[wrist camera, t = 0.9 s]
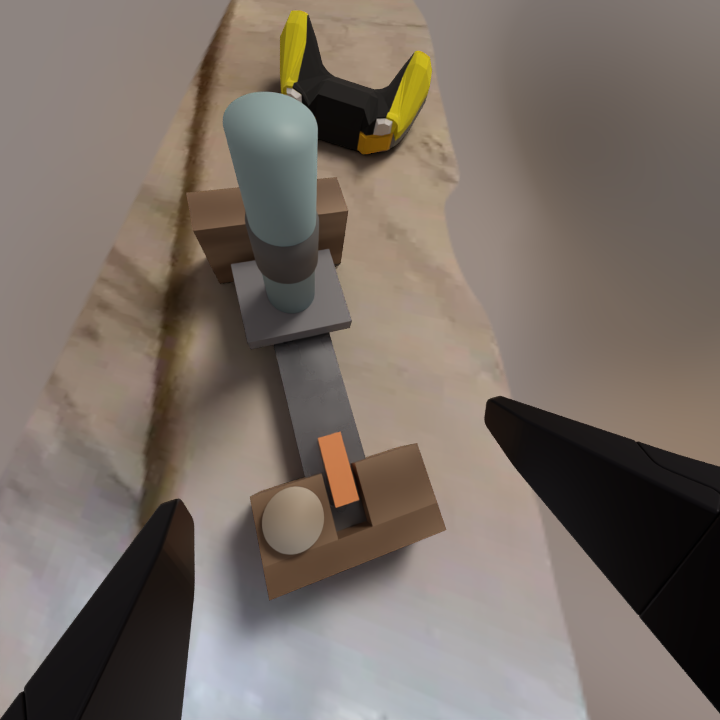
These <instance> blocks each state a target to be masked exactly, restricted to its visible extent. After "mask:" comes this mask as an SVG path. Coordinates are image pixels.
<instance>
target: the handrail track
mask: <svg viewBox="0 0 720 720" xmlns="http://www.w3.org/2000/svg"><path fill="white" fill-rule="evenodd" d="M274 348H275V353H276V357H277V361H278V365H279V370H280V374H281V378H282V382H283V386H284V391H285V395H286V399H287V403H288V408H289V412H290V416H291V420H292V425H293V429H294V433H295V437H296V441H297V446H298V450H299V454H300V458H301V463H302V467H303V471H304V475H305V478H306V477H310V476H313V475H316V474H319V473H321V474H322V477H323V481H324V485H325V489H326V493H327V497H328V501H329V505H330V509H331V513H332V517H333V521H334V525H335V529H336V532H337V531H340V530H343V529H345V528H348V527H351V526H353V525H356V524H359V523H362V522H364V521H367V519H366V515H365V512H364V508H363V505H362V501H361V497H360V494H359V490H358V487H357V483H356V479H355V476H354V472H353V469H352V465H351V463H353V462H356V461H360V460H363V459H366V458H365V455H364V451H363V448H362V444H361V441H360V437H359V434H358V431H357V427H356V424H355V420H354V417H353V413H352V410H351V407H350V403H349V400H348V396H347V393H346V389H345V386H344V382H343V379H342V376H341V372H340V369H339V365H338V362H337V358H336V355H335V352H334V348H333V345H332V341H331V338H330V334H329V332H328V333H324V334H319V335H315V336H310V337H305V338H301V339H296V340H292V341H287V342H283V343H278V344H274ZM337 432H341V435H342V439H343V443H344V446H345V450H346V453H347V457H348V461H349V464H350V468H351V472H352V475H353V479H354V482H355V486H356V490H357V493H358V497H359V500H357V501H354V502H351V503H349V504H346V505H343V506H340V507H337V508H336V507H335V506H334V502H333V499H332V495H331V491H330V487H329V483H328V479H327V475H326V471H325V467H324V463H323V459H322V455H321V451H320V448H319V444H318V438H320V437H323V436H327V435H330V434H334V433H337Z"/></svg>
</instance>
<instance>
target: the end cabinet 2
mask: <svg viewBox="0 0 720 720" xmlns="http://www.w3.org/2000/svg"><path fill="white" fill-rule="evenodd" d="M351 465H352V469H353V472H354V476H355V479H356V483H357V487H358V490H359V494H360V497H361V501H362V505H363V508H364V512H365V515H366V519H367V521H364V522H362V523H359V524H356V525H353V526H351V527H348V528H345V529H343V530H340V531H337V532H336V529H335V525H334V521H333V517H332V513H331V509H330V505H329V501H328V497H327V493H326V489H325V485H324V481H323V477H322V474H321V473H319V474H316V475H313V476H310V477H306V478H305V477H303V478H300V479H297V480H294V481H291V482H288V483H284V484H281V485H278V486H275V487H272V488H269V489H266V490H263V491H260V492H258V493H256V494H254V495H252V496H251V497H250V500H251V506H252V511H253V516H254V522H255V527H256V532H257V538H258V543H259V548H260V553H261V559H262V564H263V569H264V575H265V580H266V585H267V591H268V596H269V600H272V599H274V598H277V597H279V596H282V595H284V594H287V593H289V592H292V591H294V590H297V589H299V588H302V587H304V586H307V585H309V584H312V583H314V582H317V581H319V580H322V579H325V578H327V577H330V576H332V575H335V574H337V573H340V572H342V571H345V570H347V569H350V568H352V567H355V566H357V565H360V564H362V563H365V562H367V561H370V560H372V559H375V558H377V557H380V556H382V555H385V554H387V553H390V552H392V551H395V550H397V549H400V548H402V547H405V546H407V545H410V544H412V543H415V542H417V541H420V540H422V539H425V538H427V537H430V536H432V535H435V534H437V533H440V532H442V531H445V530H446V527H445V524H444V521H443V518H442V515H441V513H440V510H439V507H438V504H437V501H436V498H435V495H434V492H433V489H432V486H431V483H430V480H429V477H428V474H427V471H426V468H425V465H424V462H423V459H422V456H421V453H420V450H419V447H418V445H417V443H416V444H411V445H406V446H401V447H397V448H394V449H391V450H388V451H385V452H382V453H378V454H375V455H372V456H369V457H366V459H363V460H360V461H356V462H353V463H351Z"/></svg>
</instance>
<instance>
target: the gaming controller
mask: <svg viewBox="0 0 720 720" xmlns="http://www.w3.org/2000/svg"><path fill="white" fill-rule="evenodd" d="M431 73H432V68H431V61H430V57H429V56H427V55H426V54H425V53H423V52H421V51H415V52H414V54H413V55H412V56H411V57H410V59H409V60H408V61H407V62H406V64H405V65H404V66H403V67H402V69H401V70H400V71H399V73H398V74H397V75H396V77H395V78H394V79H393V81H392V82H391V83H390V85H389V86H387V87H385V88H383V89H375V90H374V89H371V88H368V87H365V86H362V85H359V84H356V83H353V82H350V81H347V80H344V79H340V78H337V77H334V76H333V75H332V74H330V73H329V72H328V71H327V70H326V68H325V67H324V66H323V64H322V60H321V56H320V52H319V48H318V44H317V40H316V36H315V33H314V30H313V27H312V24H311V21H310V18H309V15H308V14H307V13H305V12H303V11H291V13H290V15H289V17H288V20H287V22H286V24H285V27H284V29H283V31H282V34H281V36H280V82H281V94H284V95H287V96H289V97H292V98H294V99H296V100H298V101H299V102H301V103H302V104H304V105H305V106H306V107H307V108H308V109H309V110H310V111H311V112H312V114H313V115H314V117H315V119H316V122H317V127H318V139H321V140H325V141H328V142H331V143H334V144H338V145H341V146H344V147H347V148H350V149H354V150H358V151H359V152H361V153H362V154H370V153H374V152H382V151H388V150H389V149H390V148H391V147H394V146H395V145H397V144H398V143H399V142H400V140H401V139H402V138H403V137H404V136H405V134H406V133H407V132H408V131H409V130H410V128H411V126H412V124H413V123H414V121H415V119H416V117H417V116H418V114H419V112H420V110H421V109H422V107H423V105H424V103H425V101H426V97H427V94H428V90H429V87H430V81H431Z"/></svg>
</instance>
